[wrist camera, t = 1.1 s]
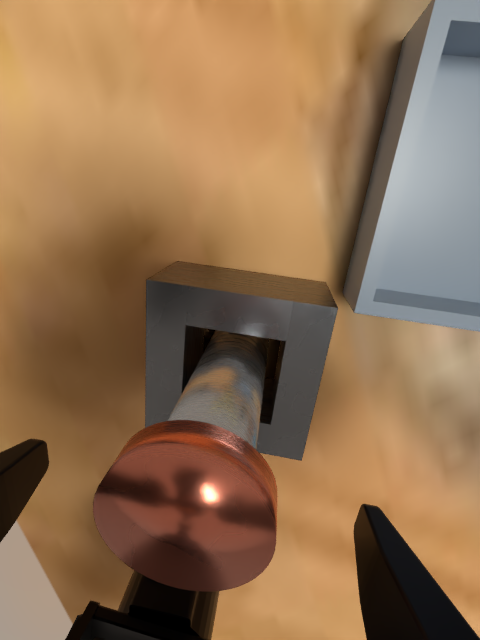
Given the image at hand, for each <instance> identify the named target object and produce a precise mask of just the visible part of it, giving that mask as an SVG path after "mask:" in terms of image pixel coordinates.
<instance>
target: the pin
mask: <svg viewBox="0 0 480 640" xmlns="http://www.w3.org/2000/svg"><path fill="white" fill-rule="evenodd" d="M268 347H269V338H263V337H257V336H251V335H244V334H238V333H232V332H226V331H219V330H216V331H215V332H214V334H213V336H212V338H211V340H210V342H209V344H208V346H207V347H206V349H205V351H204V353H203V355H202V357H201V359H200V361H199V363H198V364H197V366H196V368H195V370H194V372H193V374H192V376H191V378H190V379H189V381H188V383H187V385H186V387H185V389H184V391H183V393H182V395H181V396H180V398H179V400H178V402H177V404H176V406H175V408H174V410H173V411H172V413H171V415H170V417H169V419H168V421H165V422H160V423H156V424H154V425H151V426H148V427H146V428H144V429H143V430H141V431H139V432H138V433H137V434H135V435H134V436H133V437H132V438H131V439H130V440H129V441H128V442H127V443H126V445H125V446H124V448H123V449H122V451H121V452H120V454H119V455H118V457H117V458H116V460H115V462H114V463H113V465H112V466H111V468H110V469H109V471H108V472H107V474H106V475H105V477H104V479H103V480H102V482H101V483H100V485H99V486H98V488H97V491H96V493H95V497H94V502H93V513H94V520H95V523H96V526H97V529H98V531H99V533H100V535H101V537H102V538H103V540H104V541H105V543H106V544H107V546H108V547H109V548H110V549H111V550H112V552H113V553H114V554H115V555H116V556H117V557H118V558H119V559H121V560H122V561H123V562H124V563H125V564H127V565H128V566H129V567H131V568H132V569H134V570H135V571H137V572H138V573H140V574H142V575H144V576H146V577H148V578H150V579H152V580H154V581H156V582H159V583H162V584H165V585H168V586H171V587H175V588H179V589H184V590H191V591H208V592H210V591H221V590H227V589H232V588H235V587H238V586H241V585H243V584H245V583H248V582H250V581H251V580H253V579H254V578H256V577H257V576H258V575H260V574H261V573H262V572H263V571H264V570H265V568H266V567H267V566H268V565H269V563H270V561H271V559H272V557H273V554H274V551H275V546H276V527H277V486H276V481H275V478H274V475H273V473H272V470H271V469H270V467H269V465H268V464H267V462H266V461H265V459H264V458H263V457H262V455H261V454H260V453H259V452H258V451H257V450H256V447H257V439H258V430H259V422H260V414H261V405H262V397H263V389H264V380H265V372H266V364H267V355H268Z"/></svg>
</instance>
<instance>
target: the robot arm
mask: <svg viewBox="0 0 480 640" xmlns="http://www.w3.org/2000/svg"><path fill="white" fill-rule="evenodd" d="M48 466H49V458H48V450H47V444H46V442H45V441H43V440H37V439H29V440H26V441H24V442H22V443H20V444H18V445H16V446H14V447H12V448H9V449H7V450H5V451H3V452H1V453H0V542H1V541H2V539H3V538H4V537H5V535H6V534H7V533H8V531H9V530H10V529H11V527H12V526H13V524H14V523H15V521H16V520H17V518H18V517H19V515H20V513H21V512H22V510H23V509H24V507H25V505H26V504H27V502H28V500H29V499H30V497H31V496H32V494H33V492H34V491H35V489H36V487H37V486H38V484H39V483H40V481H41V479H42V478H43V476H44V474H45V473H46V471H47V469H48ZM354 543H355V554H356V565H357V576H358V587H359V597H360V604H361V610H362V616H363V621H364V627H365V632H366V638H367V640H480V638H479V637H478V636H477V634H476V633H475V632H474V630H473V629H472V628H471V627H470V625H469V624H468V623H467V621H466V620H465V619H464V617H463V616H462V615H461V613H460V612H459V611H458V610H457V608H456V607H455V606H454V604H453V603H452V602H451V600H450V599H449V598H448V597H447V595H446V594H445V593H444V591H443V590H442V589H441V587H440V586H439V585H438V583H437V582H436V581H435V580H434V578H433V577H432V576H431V574H430V573H429V572H428V570H427V569H426V568H425V567H424V565H423V564H422V563H421V561H420V560H419V559H418V557H417V556H416V555H415V554H414V552H413V551H412V550H411V548H410V547H409V546H408V544H407V543H406V542H405V540H404V539H403V538H402V537H401V535H400V534H399V533H398V531H397V530H396V529H395V527H394V526H393V525H392V524H391V522H390V521H389V520H388V518H387V517H386V516H385V514H384V513H383V512H382V510H381V509H380V508H379V507H377V506H373V505H368V504H362V505H361V507H360V510H359V513H358V516H357V519H356V522H355V525H354ZM218 596H219V591H210V592H208V591H191V590H184V589H179V588H175V587H171V586H168V585H165V584H162V583H159V582H156V581H154V580H152V579H150V578H148V577H146V576H144V575H142V574H140V573H138V572H137V571H135V570H134V572H133V574H132V577H131V579H130V582H129V584H128V586H127V589H126V591H125V594H124V596H123V599H122V601H121V604H120V606H119V608H118V611H116V610H113V609H110V608H107V607H103V606H100V603H98V602H95V601H90V602H89V604H88V606H87V607H86V609H85V611H84V613H83V614H81V615H78V616H77V618H76V620H75V622H74V624H73V626H72V628H71V630H70V632H69V634H68V636H67V638H66V639H65V640H211V637H212V631H213V625H214V620H215V614H216V608H217V602H218Z"/></svg>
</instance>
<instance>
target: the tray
mask: <svg viewBox="0 0 480 640" xmlns="http://www.w3.org/2000/svg"><path fill="white" fill-rule="evenodd" d="M343 294H344V296H345V298H346V300H347V301H348V303H349V305H350V306H351V308H352V310H353V311H354V313H359V314H366V315H372V316H379V317H386V318H392V319H399V320H406V321H413V322H419V323H426V324H433V325H439V326H446V327H453V328H459V329H466V330H473V331H479V332H480V0H432V1H431V2H430V4H429V5H428V6H427V8H426V9H425V10H424V12H423V13H422V14H421V16H420V17H419V18H418V20H417V21H416V22H415V24H414V25H413V27H412V28H411V29H410V31H409V32H408V33H407V35H406V36H405V37H404V39H403V43H402V47H401V51H400V55H399V60H398V64H397V68H396V72H395V76H394V80H393V85H392V89H391V93H390V97H389V101H388V106H387V110H386V114H385V118H384V122H383V126H382V131H381V135H380V139H379V143H378V147H377V151H376V156H375V160H374V164H373V168H372V172H371V176H370V181H369V185H368V189H367V193H366V197H365V202H364V206H363V210H362V214H361V218H360V222H359V227H358V231H357V235H356V239H355V243H354V247H353V252H352V256H351V260H350V264H349V268H348V273H347V277H346V281H345V285H344V289H343Z"/></svg>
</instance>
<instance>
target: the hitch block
mask: <svg viewBox="0 0 480 640" xmlns="http://www.w3.org/2000/svg"><path fill="white" fill-rule="evenodd" d="M337 310H338V307H337V305H336V303H335V301H334V298H333V296H332V294H331V292H330V290H329V288H328V286H327V283H326V282H319V281H312V280H305V279H298V278H291V277H284V276H277V275H270V274H263V273H256V272H249V271H242V270H235V269H228V268H221V267H214V266H207V265H200V264H193V263H186V262H179V261H177V262H175V263H174V264H172V265H170V266H169V267H167V268H165V269H164V270H162V271H160V272H159V273H157V274H155V275H153V276H152V277H150V278H148V279H147V280H146V401H145V428H146V427H148V426H151V425H154V424H156V423H160V422H165V421H168V419H169V417H170V415H171V413H172V411H173V410H174V408H175V406H176V404H177V402H178V400H179V398H180V396H181V395H182V393H183V391H184V389H185V387H186V385H187V383H188V381H189V379H190V378H191V376H192V374H193V372H194V370H195V368H196V366H197V364H198V363H199V361H200V359H201V357H202V355H203V344H204V331H205V328H207V329H213V330H219V331H226V332H232V333H238V334H244V335H251V336H257V337H263V338H270V339H276V340H281V342H280V348H279V353H278V359H277V365H276V370H275V376H274V379H272V378H266V377H265V380H264V389H263V397H262V405H261V414H260V422H259V430H258V439H257V447H256V450H257V451H258V452H259V453H264V454H269V455H274V456H280V457H285V458H290V459H296V460H301V461H302V457H303V453H304V449H305V444H306V440H307V436H308V432H309V428H310V423H311V419H312V415H313V411H314V407H315V402H316V398H317V394H318V390H319V386H320V381H321V377H322V373H323V369H324V365H325V360H326V356H327V352H328V348H329V344H330V339H331V335H332V331H333V327H334V323H335V318H336V314H337Z"/></svg>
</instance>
